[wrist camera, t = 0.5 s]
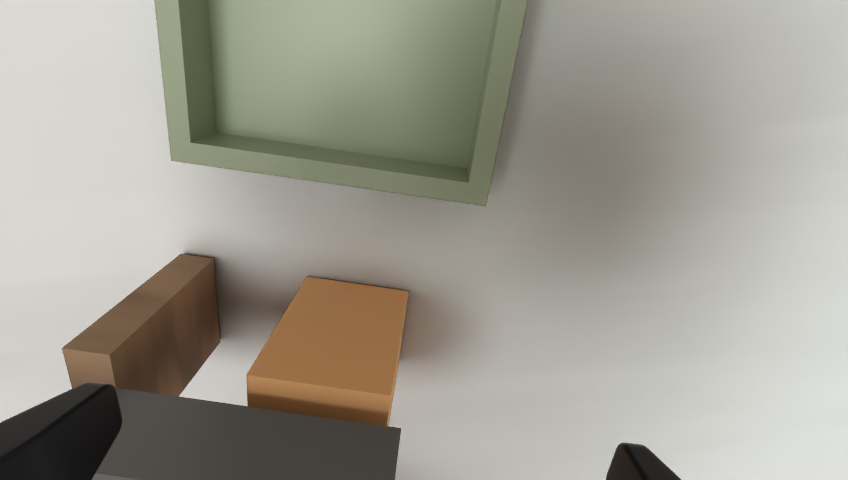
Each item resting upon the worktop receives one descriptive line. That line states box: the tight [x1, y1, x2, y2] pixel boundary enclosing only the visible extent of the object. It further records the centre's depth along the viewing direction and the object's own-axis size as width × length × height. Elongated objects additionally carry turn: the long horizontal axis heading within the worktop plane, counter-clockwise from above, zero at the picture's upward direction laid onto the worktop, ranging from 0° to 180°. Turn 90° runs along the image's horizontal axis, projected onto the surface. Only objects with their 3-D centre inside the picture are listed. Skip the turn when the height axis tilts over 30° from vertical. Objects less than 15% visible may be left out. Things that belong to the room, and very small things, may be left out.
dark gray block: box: [92, 388, 401, 480], centre depth 14 cm, size 3×10×3 cm, turn 83°
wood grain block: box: [62, 254, 220, 397], centre depth 19 cm, size 5×2×7 cm, turn 173°
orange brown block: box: [247, 277, 409, 426], centre depth 19 cm, size 4×5×7 cm
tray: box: [154, 0, 528, 206], centre depth 16 cm, size 12×12×3 cm
